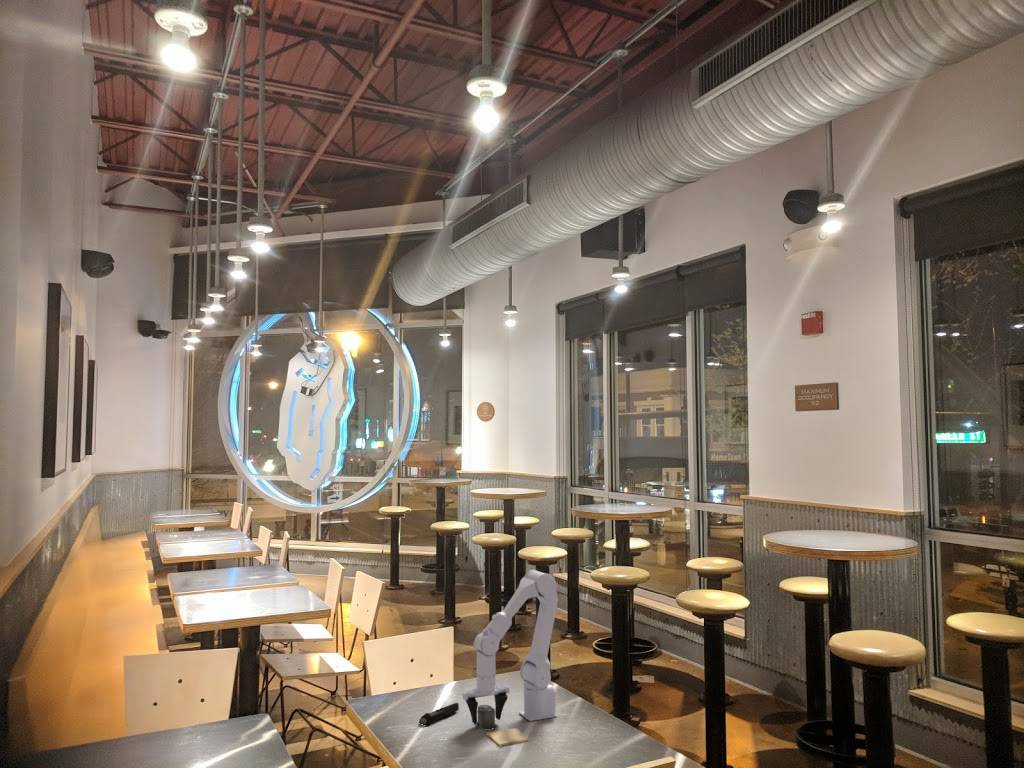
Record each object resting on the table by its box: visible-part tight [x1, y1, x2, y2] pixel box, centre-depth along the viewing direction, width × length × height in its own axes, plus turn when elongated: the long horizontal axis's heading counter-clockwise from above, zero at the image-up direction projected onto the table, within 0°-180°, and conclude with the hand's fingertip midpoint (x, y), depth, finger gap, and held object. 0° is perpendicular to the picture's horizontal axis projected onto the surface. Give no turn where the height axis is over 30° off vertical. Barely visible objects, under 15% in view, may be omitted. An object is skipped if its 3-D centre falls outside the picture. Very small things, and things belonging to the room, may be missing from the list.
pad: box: [487, 727, 529, 747], centre depth 216 cm, size 9×9×1 cm
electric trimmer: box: [418, 702, 460, 726], centre depth 232 cm, size 4×16×3 cm, turn 141°
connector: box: [477, 704, 496, 730], centre depth 227 cm, size 9×4×5 cm, turn 24°
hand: (486, 720), depth 226 cm, fingers open, 7 cm apart
